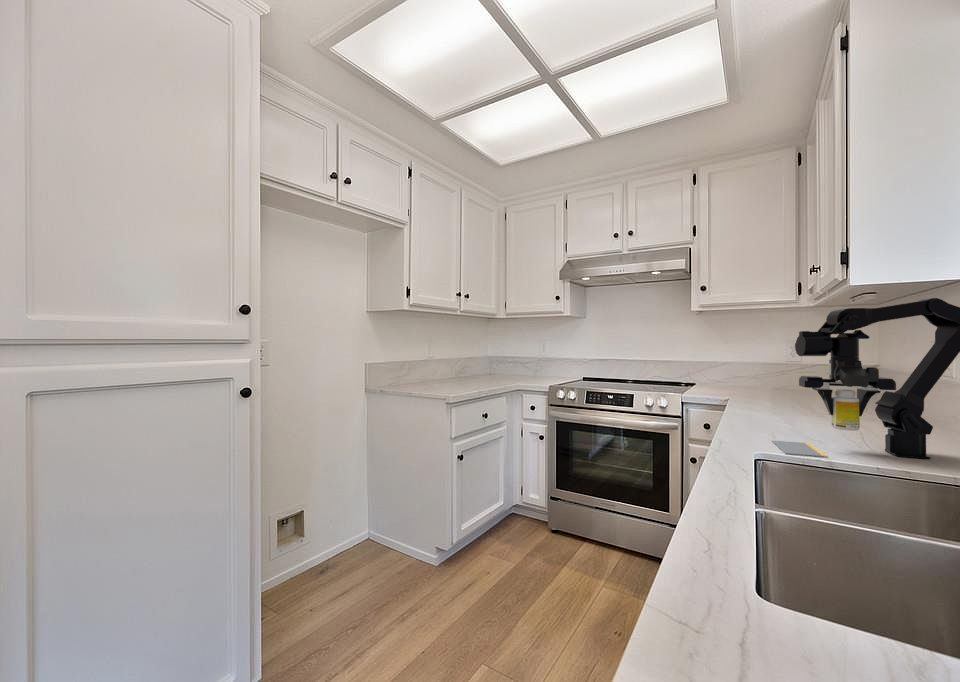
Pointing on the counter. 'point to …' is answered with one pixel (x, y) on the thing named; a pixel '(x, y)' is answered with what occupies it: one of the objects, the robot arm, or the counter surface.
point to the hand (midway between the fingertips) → (845, 415)
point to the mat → (799, 449)
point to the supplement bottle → (845, 410)
